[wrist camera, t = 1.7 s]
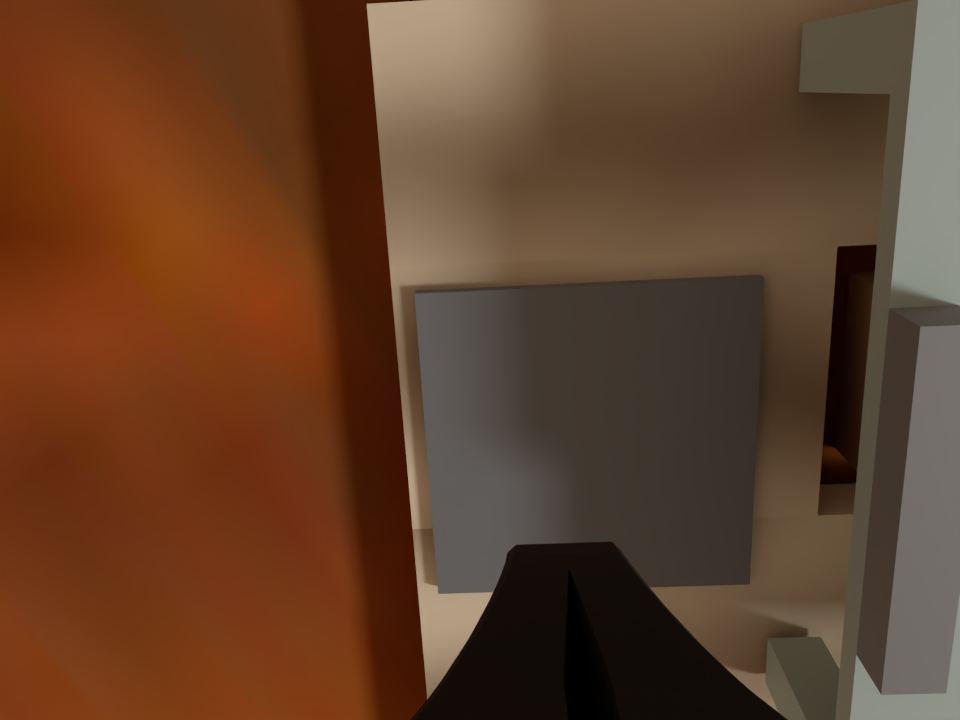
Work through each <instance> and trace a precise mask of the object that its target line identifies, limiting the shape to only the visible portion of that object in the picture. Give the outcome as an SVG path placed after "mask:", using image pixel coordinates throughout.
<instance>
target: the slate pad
mask: <svg viewBox="0 0 960 720" xmlns="http://www.w3.org/2000/svg"><path fill="white" fill-rule="evenodd" d="M764 279H765V278H764V277H763V276H762V275H740V276H718V277H696V278H675V279H653V280H631V281H610V282H588V283H567V284H545V285H523V286H502V287H480V288H458V289H437V290H416V291H415V294H414V295H415V308H416V320H417V333H418V346H419V358H420V371H421V384H422V396H423V409H424V421H425V434H426V447H427V459H428V472H429V485H430V497H431V510H432V523H433V535H434V548H435V561H436V573H437V586H438V594H452V593H485V592H494V589H495V587H496V585H497V583H498V580H499V578H500V576H501V573H502V570H503V567H504V564H505V561H506V556H507V553H508V552H509V551H510V550H511V549H512V548H513V547H514V546H515V545H522V544H552V543H582V542H613V543H614V544H615V545H616V546H617V547H618V548H619V549H620V550H621V551H622V552H623V554H624V555H625V557H626V558H627V559H628V561H629V562H630V563H631V565H632V566H633V567H634V569H635V570H636V571H637V572H638V574H639V575H640V576H641V577H642V579H643V580H644V581H645V582H646V584H647V585H648V586H649V587H681V586H714V585H747V584H750V568H751V547H752V527H753V506H754V485H755V465H756V444H757V424H758V403H759V382H760V362H761V341H762V320H763V300H764Z"/></svg>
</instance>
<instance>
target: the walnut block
mask: <svg viewBox="0 0 960 720" xmlns="http://www.w3.org/2000/svg"><path fill="white" fill-rule="evenodd" d="M874 274H875V271H870V272H850V280H849V293H848V305H847V318H846V330H845V343H844V356H843V368H842V381H841V393H840V406H839V419H838V431H837V444H836V449H837V450H838V451H839V452H840V453H841V454H842V455H843V456H844V458H845V459H846V460H847V461H848V462H849V463H850V464H851V465H852V466H853V467H854V469H855V470H856V471H857V467H858V456H859V444H860V433H861V422H862V410H863V399H864V388H865V376H866V365H867V354H868V342H869V331H870V320H871V308H872V297H873V286H874Z"/></svg>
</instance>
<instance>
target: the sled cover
mask: <svg viewBox="0 0 960 720" xmlns="http://www.w3.org/2000/svg"><path fill="white" fill-rule="evenodd" d="M799 92H816V93H859V94H890V104H889V116H888V127H887V138H886V150H885V161H884V172H883V184H882V195H881V206H880V218H879V229H878V240H877V252H876V263H875V274H874V286H873V297H872V308H871V320H870V331H869V342H868V354H867V365H866V376H865V388H864V399H863V410H862V422H861V433H860V444H859V456H858V467H857V478H856V490H855V501H854V512H853V524H852V535H851V546H850V558H849V569H848V580H847V592H846V603H845V614H844V626H843V637H842V648H841V660H840V669H839V668H838V666H837V664H836V662H835V661H834V659H833V657H832V655H831V654H830V652H829V650H828V648H827V647H826V645H825V643H824V641H823V640H822V638H821V637H791V638H768V643H767V660H766V678H765V682H766V685H767V687H768V689H769V692H770V694H771V696H772V698H773V701H774V703H775V705H776V708H777V710H778V712H779V713H780V714H781V715H782V716H784V717H785V718H786V719H788V720H960V0H913V1H909V2H904V3H899V4H894V5H889V6H885V7H880V8H875V9H870V10H865V11H860V12H856V13H851V14H846V15H841V16H836V17H832V18H827V19H822V20H817V21H812V22H808V23H803V30H802V47H801V65H800V83H799Z"/></svg>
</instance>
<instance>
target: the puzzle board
mask: <svg viewBox="0 0 960 720" xmlns="http://www.w3.org/2000/svg"><path fill="white" fill-rule="evenodd" d="M909 1H913V0H422V1H405V2H389V3H373V4H367V14H368V25H369V37H370V48H371V60H372V71H373V82H374V94H375V105H376V117H377V128H378V140H379V151H380V163H381V174H382V186H383V197H384V208H385V220H386V231H387V243H388V254H389V266H390V277H391V289H392V300H393V312H394V323H395V335H396V346H397V357H398V369H399V380H400V392H401V403H402V415H403V426H404V438H405V449H406V461H407V472H408V483H409V495H410V506H411V518H412V529H413V541H414V552H415V564H416V575H417V587H418V598H419V610H420V621H421V632H422V644H423V655H424V667H425V678H426V690H427V699H428V698H429V697H430V695H431V694H432V693H433V691H434V690H435V689H436V687H437V686H438V684H439V683H440V682H441V680H442V679H443V677H444V676H445V674H446V673H447V671H448V670H449V668H450V667H451V665H452V663H453V662H454V660H455V659H456V657H457V656H458V654H459V653H460V651H461V650H462V648H463V647H464V645H465V644H466V642H467V640H468V639H469V637H470V635H471V634H472V632H473V630H474V628H475V626H476V624H477V623H478V621H479V619H480V617H481V615H482V613H483V612H484V610H485V608H486V606H487V604H488V602H489V600H490V598H491V596H492V594H493V592H485V593H452V594H438V586H437V573H436V561H435V548H434V535H433V523H432V510H431V497H430V485H429V472H428V459H427V447H426V434H425V421H424V409H423V396H422V384H421V371H420V358H419V346H418V333H417V320H416V308H415V295H414V294H415V291H416V290H437V289H458V288H480V287H502V286H523V285H545V284H567V283H588V282H610V281H631V280H653V279H675V278H696V277H718V276H740V275H762V276H763V277H764V278H765V279H764V300H763V320H762V341H761V362H760V382H759V403H758V424H757V444H756V465H755V485H754V506H753V527H752V547H751V568H750V584H747V585H714V586H681V587H650V588H651V590H652V591H653V592H654V593H655V594H656V596H657V597H658V598H659V599H660V600H661V601H662V603H663V604H664V605H665V606H666V607H667V608H668V609H669V611H670V612H671V613H672V614H673V615H674V616H675V617H676V618H677V619H678V620H679V621H680V622H681V623H682V625H683V626H684V627H685V628H686V629H687V630H688V631H689V632H690V633H691V634H692V635H693V636H694V637H695V639H696V640H697V641H698V642H699V643H700V644H701V645H702V646H703V647H704V648H705V649H706V650H707V651H708V652H709V653H710V654H711V655H712V656H714V657H715V658H716V659H717V660H718V661H719V662H720V663H721V664H722V665H723V666H724V667H725V668H726V669H727V670H728V671H730V672H731V673H732V674H733V675H734V676H735V677H736V678H737V679H738V680H739V681H740V682H741V683H743V684H744V685H745V686H746V687H747V688H748V689H749V690H751V691H752V692H753V693H754V694H755V695H757V696H758V697H759V698H761V699H762V700H763V701H764V702H766V703H767V704H768V705H770V706H771V707H772V708H773V709H775V710H776V711H777V712H778V710H777V708H776V705H775V703H774V701H773V698H772V696H771V694H770V692H769V689H768V687H767V685H766V682H765V678H766V660H767V643H768V638H791V637H821V638H822V640H823V641H824V643H825V645H826V647H827V648H828V650H829V652H830V654H831V655H832V657H833V659H834V661H835V662H836V664H837V666H838V668H839V669H840V660H841V648H842V637H843V626H844V614H845V603H846V592H847V580H848V569H849V558H850V546H851V535H852V524H853V512H854V501H855V490H856V483H849V484H821V485H820V476H821V463H822V449H823V436H824V422H825V409H826V395H827V382H828V368H829V355H830V341H831V328H832V314H833V301H834V287H835V274H836V260H837V247H838V246H858V245H877V240H878V229H879V218H880V206H881V195H882V184H883V172H884V161H885V150H886V138H887V127H888V116H889V104H890V94H859V93H816V92H799V83H800V65H801V47H802V30H803V23H808V22H812V21H817V20H822V19H827V18H832V17H836V16H841V15H846V14H851V13H856V12H860V11H865V10H870V9H875V8H880V7H885V6H889V5H894V4H899V3H904V2H909Z"/></svg>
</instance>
